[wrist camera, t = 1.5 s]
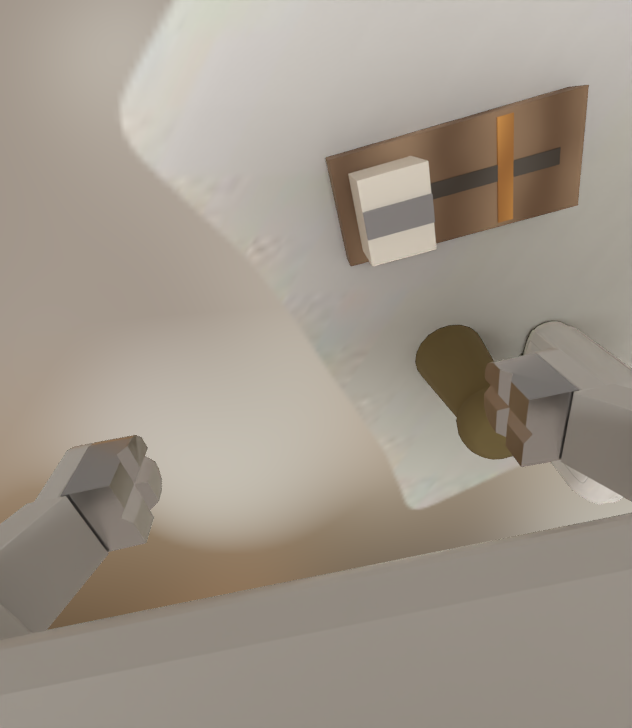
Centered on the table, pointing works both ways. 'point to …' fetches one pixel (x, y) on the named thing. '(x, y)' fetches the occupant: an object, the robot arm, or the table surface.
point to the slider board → (482, 166)
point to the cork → (462, 385)
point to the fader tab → (394, 209)
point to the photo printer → (597, 365)
